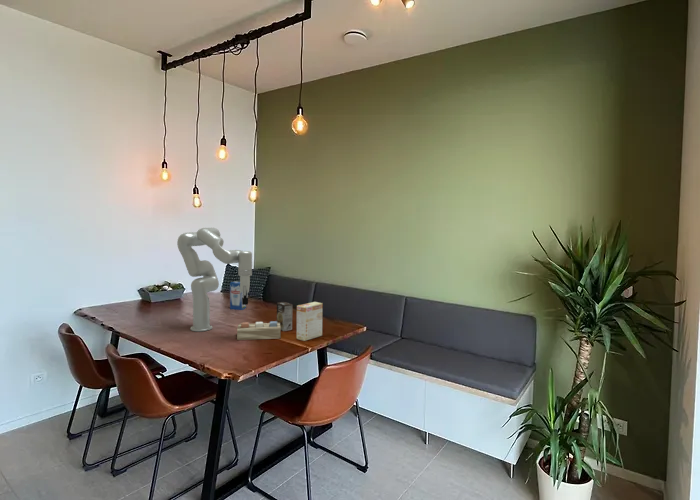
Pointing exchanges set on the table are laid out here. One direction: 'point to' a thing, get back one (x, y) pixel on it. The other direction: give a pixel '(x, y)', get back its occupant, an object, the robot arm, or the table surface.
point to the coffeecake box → (309, 321)
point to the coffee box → (284, 315)
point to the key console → (258, 332)
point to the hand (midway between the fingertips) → (245, 304)
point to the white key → (259, 324)
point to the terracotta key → (245, 325)
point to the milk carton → (236, 296)
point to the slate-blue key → (273, 324)
